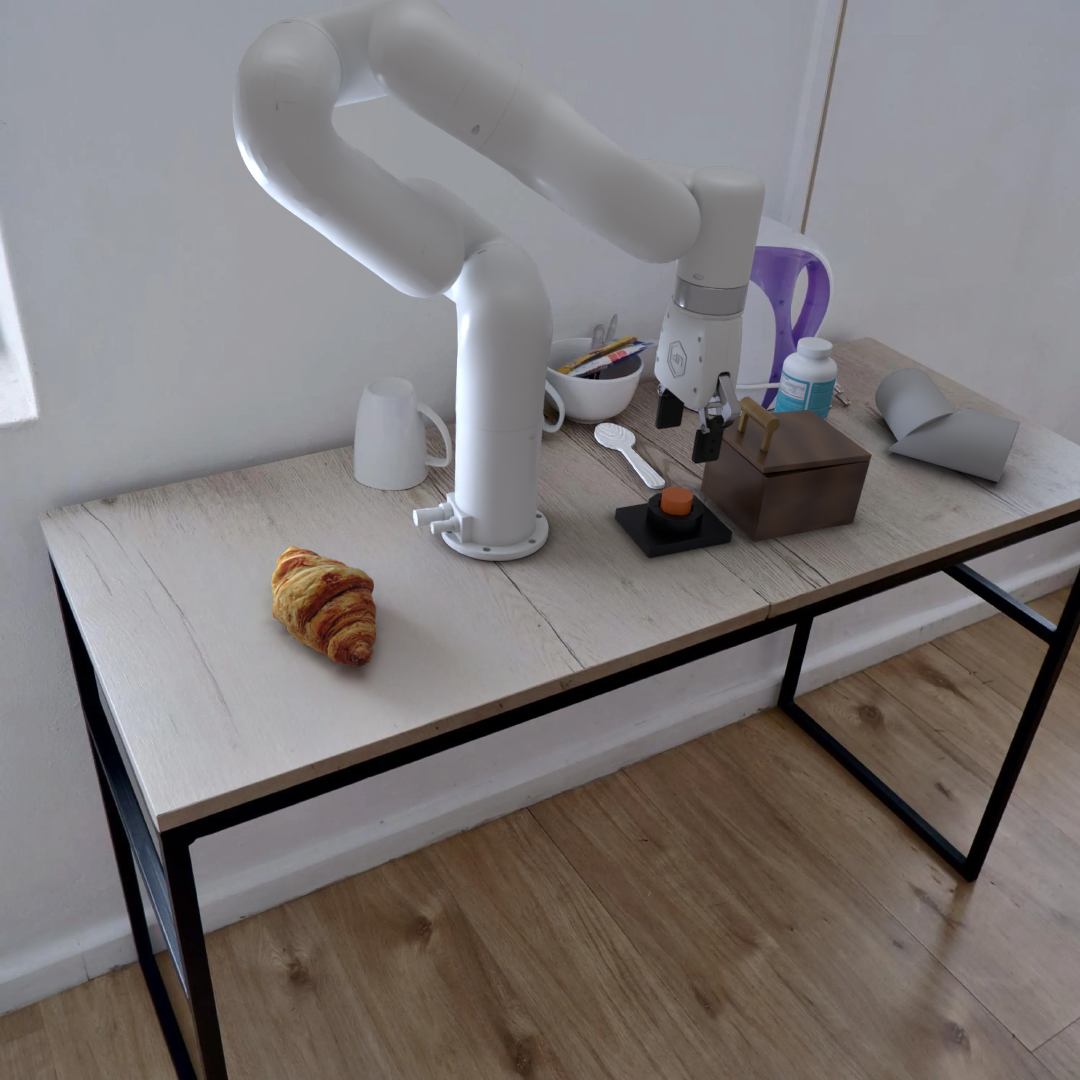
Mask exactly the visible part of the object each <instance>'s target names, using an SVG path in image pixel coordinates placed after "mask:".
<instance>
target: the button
mask: <svg viewBox="0 0 1080 1080" xmlns="http://www.w3.org/2000/svg"><path fill="white" fill-rule="evenodd" d="M661 493H662V499H661V505H660V508H661V510H662V511H664V512H666V513H668V514H671V515H680V516H681V515H687V514H689V513H690V511H691V506H692V500H693V495H694V494H693V493H692V492H691V491H690V490H688V489H687V488H685V487H679V486H670V487H669V486H668V487H666V488H665V489H663V490H662V492H661Z"/></svg>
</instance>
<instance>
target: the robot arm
mask: <svg viewBox="0 0 1080 1080" xmlns="http://www.w3.org/2000/svg"><path fill="white" fill-rule="evenodd" d="M387 96H389V97H390V98H391V99H393V101H396V102H397V103H398V104H400V105H402V107H405V108H406V109H408V111H411V112H413V113H414V114H415V115H417V116H418V117H420V118H422V119H423V120H425V121H427V122H429V123H430V124H431V125H433V126H435V127H436V128H438V129H440V130H442V131H443V132H445V133H447V134H448V135H450V136H451V137H453V138H455V139H456V140H458V141H459V142H461V143H463V144H464V145H466V146H468V147H469V148H471V149H472V150H474V151H475V152H477V153H479V154H480V155H481V156H483V157H485V158H487V159H488V160H490V161H492V162H493V163H495V164H496V165H497V166H499V167H500V168H502V169H504V170H505V171H506V172H508V173H509V174H511V175H512V176H513V177H514V178H515V179H516V180H518V181H520V183H522V184H523V185H524V186H526V187H527V188H529V189H530V190H532V191H533V192H535V193H536V194H538V195H540V196H541V197H543V198H544V199H545V200H547V201H548V202H550V203H551V204H553V205H554V206H555V207H557V208H558V209H559V210H560V211H562V212H563V213H565V214H566V215H568V216H569V217H570V218H571V219H573V220H574V221H576V222H577V223H579V224H580V225H581V226H583V227H585V228H586V229H588V230H589V231H591V232H592V233H594V234H595V235H597V236H599V237H600V238H601V239H603V240H605V241H606V242H609V243H610V244H612V245H613V246H615V247H616V248H618V249H620V250H622V251H623V252H625V253H626V254H629V255H630V256H632V257H633V258H635V259H637V260H640V261H642V262H645V263H648V264H649V263H650V264H656V265H657V264H669V263H671V262H674V261H677V266H676V273H675V280H674V287H673V294H672V295H671V297H670V299H669V302H668V305H667V308H666V312H665V314H664V318H663V321H662V326H661V330H660V334H659V335H660V336H659V340H658V345H657V348H656V349H655V352H654V353H655V362H654V363H655V364H654V376H655V377H656V379H657V380H658V382H659V384H658V385H657V394H658V395H659V396H658V402H657V409H656V416H655V422H654V426H655V427H654V428H656V429H657V430H665V429H671V428H678V427H680V426H681V425H682V422H683V421H682V419H683V415H684V408H685V405H686V406H687V407H688V408H690V409H692V410H697V413H698V419H699V426H700V428H699V429H696V430H695V436H694V441H693V448H692V454H691V462H692V463H693V464H695V465H697V464H705V462H711V461H716V460H718V458H719V454H720V449H721V443H722V438H723V432H724V431H726V430H727V429H728V427H729V426H731V425H732V424H733V421H734V420H735V419H736V418H737V417H738V416H741V413H742V410H741V408H740V405H739V402H740V401H739V400H738V397H737V394H736V388H737V383H738V376H739V371H740V363H741V353H742V343H743V342H742V341H743V317H742V316H743V315H744V312H745V308H746V302H747V298H748V297H747V296H748V291H749V286H750V285H749V284H750V280H751V274H752V268H753V265H754V264H753V263H754V259H755V258H754V257H755V252H756V246H757V241H758V236H759V230H760V225H761V221H762V214H763V209H764V203H765V197H766V186H765V183H764V180H763V179H762V177H761V176H759V175H758V174H757V173H755V172H753V171H750V170H749V169H744V168H739V167H732V166H725V165H724V166H722V165H720V166H717V165H716V166H715V165H714V166H708V167H704V168H703V167H702V168H701V167H696V166H695V167H694V166H688V165H682V164H677V163H673V162H667V161H664V160H657V159H650V158H639V159H638V158H637V157H636V156H634V155H633V154H631V153H630V152H629V151H627V150H625V149H624V148H623V147H622V146H621V145H619V144H617V143H616V142H615V141H614V140H613V139H611V138H610V137H608V136H607V135H606V134H605V133H603V132H602V131H601V130H600V129H599V128H598V127H596V126H595V125H594V124H593V123H592V122H591V121H590V120H589V119H588V118H587V117H585V115H584V114H582V112H581V111H580V110H579V108H578V107H577V106H575V104H573V103H572V101H571V100H570V99H569V98H568V97H567V96H565V94H563V93H562V92H561V91H560V90H559V89H558V88H556V87H555V86H554V85H553V84H551V83H550V82H549V81H547V80H546V79H544V78H543V77H541V76H540V75H538V74H536V73H535V72H534V71H532V70H530V69H529V68H527V67H526V66H524V65H523V64H521V63H519V62H518V61H516V60H515V59H513V58H511V57H510V56H508V55H507V54H506V53H504V52H503V51H501V50H500V49H498V48H497V47H495V46H494V45H492V44H491V43H489V42H487V41H486V40H484V39H483V38H482V37H481V36H479V35H478V34H476V33H475V32H474V31H472V30H470V29H469V28H468V27H466V26H465V25H464V24H462V23H460V22H459V21H457V20H456V19H455V18H453V16H452V15H451V14H450V13H449V11H448V10H447V9H446V8H445V6H444V5H442V3H440V2H439V0H366V1H362V2H357V3H353V4H348V5H344V6H338V7H333V8H328V9H325V10H320V11H315V12H311V13H305V14H300V15H296V16H291V17H287V18H283V19H281V20H278V21H276V22H274V23H272V24H271V25H270V26H268V27H267V28H265V29H264V30H263V31H262V32H261V33H260V34H259V36H257V38H256V39H255V40H254V41H253V42H252V43H251V44H250V46H249V47H248V48H247V49H246V51H245V53H244V55H243V56H242V58H241V60H240V62H239V65H238V67H237V70H236V74H235V78H234V83H233V89H232V99H231V100H232V104H231V112H232V115H231V116H232V126H233V132H234V138H235V142H236V145H237V148H238V151H239V153H240V156H241V158H242V160H243V163H244V164H245V166H246V168H247V169H248V171H249V173H250V174H251V176H252V177H253V178H254V180H255V182H256V183H258V185H259V186H260V187H261V188H262V189H263V191H264V192H266V193H267V194H268V195H269V196H270V197H271V198H272V199H273V200H275V201H276V202H277V203H278V204H280V205H281V206H282V207H284V208H285V209H286V210H287V211H288V212H290V213H292V214H293V215H294V216H296V217H297V218H299V219H300V220H301V221H302V222H304V223H306V224H307V225H309V226H310V228H313V229H314V230H316V231H317V232H318V233H319V234H321V235H322V236H324V237H325V238H326V239H327V240H329V242H331V243H332V244H333V245H335V246H336V247H337V248H339V249H340V250H341V251H343V252H344V253H346V254H347V255H348V256H350V257H352V258H353V259H354V260H356V261H357V262H359V263H360V264H361V265H363V266H364V267H365V268H367V269H368V270H369V271H371V272H372V273H374V274H375V275H376V276H378V277H379V278H381V279H382V280H383V281H384V282H385V283H387V284H389V286H391V287H392V288H394V289H395V290H397V291H398V292H400V293H402V294H405V295H407V296H409V297H413V298H418V299H431V298H436V297H439V296H441V295H443V296H445V297H447V298H448V299H449V300H450V301H452V302H454V303H455V308H456V320H457V321H456V322H457V357H456V379H455V380H456V381H455V383H456V384H455V385H456V386H455V458H454V459H455V463H454V464H455V465H454V467H455V468H454V491H453V492H448V493H446V502H440V503H439V504H438V506H435V507H425V508H419V509H413V511H412V517H413V522H414V525H415V526H416V527H421V526H422V527H423V526H428V525H429V526H430V527H429V528H430V532H431V534H432V535H435V534H440V535H441V537H442V539H443V541H444V542H445V544H447V545H448V546H449V547H450V548H451V549H452V550H454V551H456V552H458V553H460V554H462V555H463V556H467V557H470V558H473V559H476V560H481V561H488V562H489V561H490V562H492V561H493V562H502V561H504V562H505V561H512V560H519V559H523V558H525V557H528V556H530V555H532V554H534V553H536V552H537V551H539V550H541V548H542V547H543V546H544V545H545V543H546V542H547V540H548V537H549V529H550V527H549V522H548V520H547V517H546V516H545V515H544V514H543V512H541V511H540V509H538V496H539V482H540V470H541V469H540V467H541V456H542V455H541V454H542V453H541V452H542V441H543V440H542V439H543V426H544V425H543V424H544V406H545V392H546V383H547V375H548V374H547V373H548V367H549V362H550V361H549V360H550V355H551V350H552V342H553V335H554V333H553V332H554V322H553V321H554V320H553V312H552V311H553V310H552V306H551V302H550V298H549V295H548V291H547V289H546V286H545V284H544V281H543V279H542V276H541V272H540V270H539V267H538V266H537V264H536V261H535V260H534V258H533V256H531V254H530V253H529V252H528V251H527V250H526V249H525V248H524V246H522V245H521V244H520V243H518V242H517V241H516V240H515V239H514V238H513V237H511V236H510V235H509V234H507V233H506V232H505V231H503V230H502V229H501V228H500V227H498V226H497V225H496V224H494V223H493V222H492V221H491V220H489V219H488V218H487V217H485V216H484V214H482V213H481V212H479V210H476V209H475V208H474V207H473V206H471V205H470V204H469V203H467V202H466V201H465V200H463V199H462V198H461V197H460V196H458V195H457V194H456V193H455V192H453V191H452V190H451V189H449V188H447V187H446V186H444V185H442V184H441V183H438V182H436V181H434V180H432V179H428V178H424V177H406V178H402V179H399V178H397V177H395V175H393V174H391V173H390V172H389V171H387V170H386V169H385V168H384V167H382V166H381V165H380V164H379V163H378V162H377V161H375V160H374V159H373V158H372V157H370V156H369V155H368V154H366V153H365V152H363V151H361V150H360V149H359V148H357V147H355V146H354V145H352V144H350V143H348V142H347V141H346V140H345V139H343V138H342V137H341V136H340V135H339V134H338V132H337V131H336V129H335V128H334V125H333V121H332V119H333V118H332V117H333V112H334V108H338V107H344V106H347V105H352V104H356V103H362V102H367V101H371V100H375V99H379V98H383V97H387ZM712 398H713V399H714V400H715V401H711V400H712ZM710 409H715V414H716V415H715V416H713V417H711V418H710V414H709V410H710ZM709 419H711V420H709Z"/></svg>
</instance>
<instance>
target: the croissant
mask: <svg viewBox="0 0 1080 1080" xmlns="http://www.w3.org/2000/svg"><path fill="white" fill-rule="evenodd" d="M276 565H277V566H276V568H275V570H274V571H272V572H273V573H272V576H271V583H270V584H271V593H272V596H273V601H272V607H271V614H272V615H271V616H272V618H274V619H276V620H277V621H278V622H279V623H281V624H283V625H284V626H285V627H286V630H287V632H288V633H289V634H290V635H291V636H292V637H293V638H294V639H295V640H297V641H298V642H299V643H301V644H302V645H304V646H307V647H309V648H312V650H314V651H316V652H319V653H320V654H322V655H324V656H325V657H327V658H328V659H330V660H331V661H332V662H334V663H336V664H339V665H343V666H352V667H358V668H360V667H363V666H365V665H366V664H368V663H370V662H371V660H372V657H373V653H374V651H373V649H372V647H373V646H374V645H375V643H376V640H377V626H376V625H377V623H376V615H377V606H376V603H375V601H374V598H373V596H372V594H373V592H374V588H375V582H374V580H373V578H372V577H370V576H369V574H368V573H366V572H365V571H364V570H363V569H361V568H359V567H353V566H349V565H346V564H345V563H343V562H342V561H339V560H337V559H333V558H330V557H326V556H322V555H319V554H318V553H317V552H315V551H312V550H309V549H304V548H303V549H302V548H299V547H297V546H295V545H291V546H289V547H288V548H287V549H286V550H285V551H283V553H282V554H280V556H279V557H278V559H277V561H276Z"/></svg>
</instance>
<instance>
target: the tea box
mask: <svg viewBox="0 0 1080 1080" xmlns="http://www.w3.org/2000/svg"><path fill="white" fill-rule="evenodd" d="M870 463H871V460H870V461H861V462H853V463H845V464H836V465H828V466H820V467H811V468H803V469H795V470H786V471H778V472H770V473H762V472H761V471H760V470H759V469H757V468H756V467H755V466H754V465H753V464H752V463H751V462H749V461H748V460H747V459H746V458H745V457H744V456H743V455H741V454H740V453H739V452H738V451H737V450H736V449H734V448H733V447H732V446H731V445H730V444H729V443H728V442H726V441H725V440H724V439H723V438H722V443H721V449H720V454H719V458H718V460H716V461H711V462H705V463H704V468H703V474H702V481H701V486H700V492H701V493H702V494H704V495H705V496H706V497H707V498H708V499H709V501H711V502H712V503H713V504H714V505H715V506H716V507H717V508H718V510H720V511H721V512H722V513H723V514H724V515H725V516H726V517H727V518H728V519H729V520H730V521H731V522H732V523H733V524H734V525H735V526H737V528H738V529H739V530H740V531H741V532H743V534H744V535H746V537H748V539H750V540H751V541H752V542H753V543H758V542H762V541H768V540H773V539H778V538H784V537H789V536H793V535H799V534H805V533H808V532H813V531H818V530H823V529H829V528H834V527H840V526H844V525H849V524H850V525H851V524H853V523H854V521H855V517H856V513H857V510H858V507H859V504H860V499H861V495H862V492H863V490H864V486H865V481H866V477H867V475H868V472H869V467H870Z"/></svg>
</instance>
